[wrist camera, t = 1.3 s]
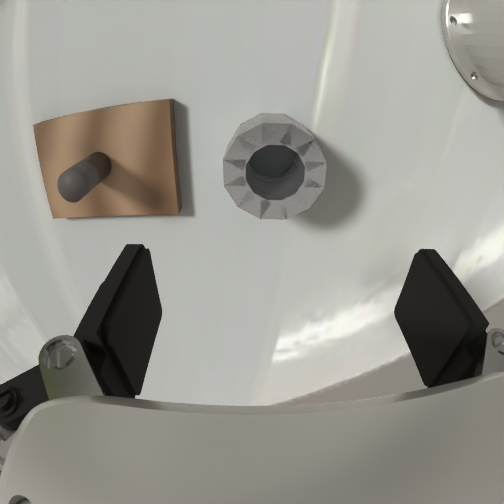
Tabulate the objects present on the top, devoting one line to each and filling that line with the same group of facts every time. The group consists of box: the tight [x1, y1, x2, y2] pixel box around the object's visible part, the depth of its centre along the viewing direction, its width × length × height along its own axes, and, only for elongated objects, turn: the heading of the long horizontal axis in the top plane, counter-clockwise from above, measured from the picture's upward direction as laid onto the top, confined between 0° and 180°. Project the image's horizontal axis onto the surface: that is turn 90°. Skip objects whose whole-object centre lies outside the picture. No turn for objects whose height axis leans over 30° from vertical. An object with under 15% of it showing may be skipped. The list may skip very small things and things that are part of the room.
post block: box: [33, 99, 181, 218], centre depth 22 cm, size 14×10×6 cm
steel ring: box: [223, 113, 327, 219], centre depth 22 cm, size 7×7×5 cm
